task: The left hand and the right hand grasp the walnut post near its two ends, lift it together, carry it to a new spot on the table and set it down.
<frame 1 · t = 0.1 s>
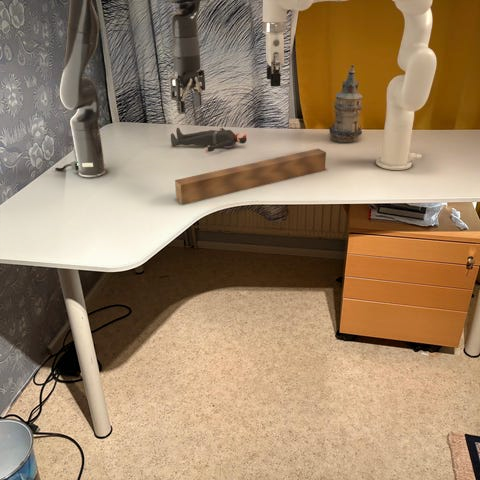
left hand: (189, 109, 158), 29 cm above the table, tool pointing down, fingers open, 8 cm apart
right hand: (273, 82, 178), 31 cm above the table, tool pointing down, fingers open, 9 cm apart
miniature building: (344, 139, 221), on the table
post: (254, 183, 182), on the table
toy: (210, 145, 217), on the table
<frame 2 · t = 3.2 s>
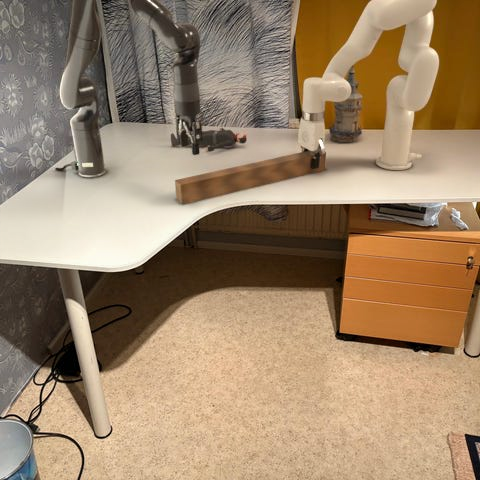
left hand: (190, 150, 165), 16 cm above the table, tool pointing down, fingers open, 8 cm apart
right hand: (310, 165, 191), 2 cm above the table, tool pointing down, fingers closed on post, 4 cm apart
post: (254, 183, 182), on the table, touching right hand
everything else where it was.
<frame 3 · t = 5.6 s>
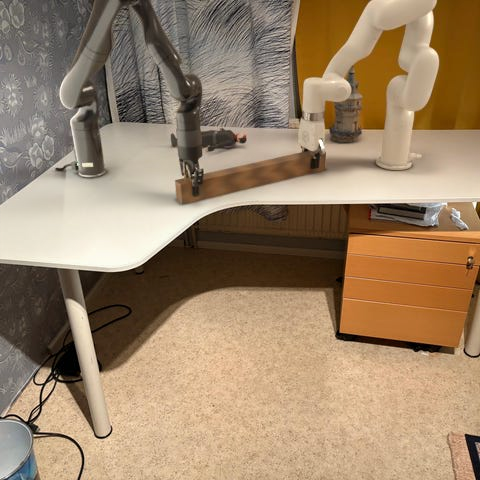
left hand: (192, 192, 172), 2 cm above the table, tool pointing down, fingers closed on post, 4 cm apart
right hand: (310, 165, 191), 2 cm above the table, tool pointing down, fingers closed on post, 4 cm apart
post: (254, 183, 182), on the table, touching right hand, left hand
everything else where it was.
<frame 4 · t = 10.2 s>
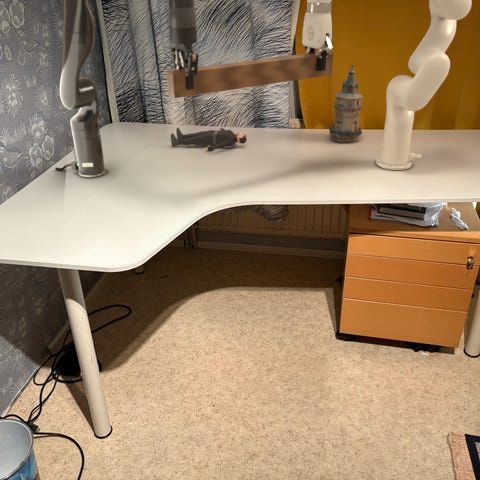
left hand: (186, 87, 155), 36 cm above the table, tool pointing down, fingers closed on post, 4 cm apart
right hand: (315, 68, 175), 36 cm above the table, tool pointing down, fingers closed on post, 4 cm apart
post: (254, 84, 166), point 34 cm above the table, touching right hand, left hand
everything else where it was.
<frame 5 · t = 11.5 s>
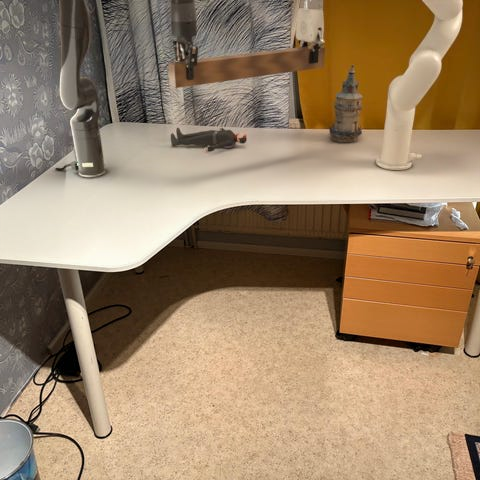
left hand: (186, 77, 165), 36 cm above the table, tool pointing down, fingers closed on post, 4 cm apart
right hand: (309, 61, 185), 36 cm above the table, tool pointing down, fingers closed on post, 4 cm apart
post: (251, 75, 176), point 34 cm above the table, touching right hand, left hand
everything else where it was.
when the left hand's fingers open (4 cm above the table, at t = 17.2 s): post drops 1 cm, on the table.
when the right hand's fingers open (3 cm above the table, at t = 17.2 s): post drops 1 cm, on the table.
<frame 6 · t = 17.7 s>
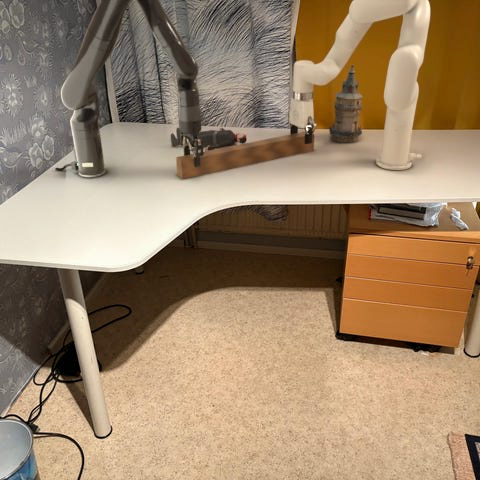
left hand: (192, 162, 188), 4 cm above the table, tool pointing down, fingers open, 8 cm apart
right hand: (300, 139, 208), 4 cm above the table, tool pointing down, fingers open, 9 cm apart
post: (248, 162, 200), on the table
everything else where it was.
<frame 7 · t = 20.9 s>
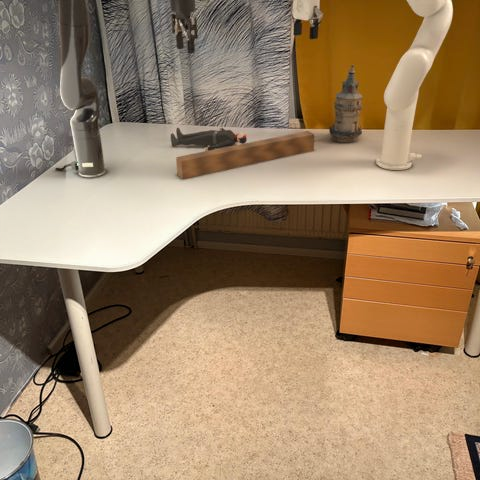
left hand: (185, 50, 170), 42 cm above the table, tool pointing down, fingers open, 8 cm apart
right hand: (305, 36, 189), 42 cm above the table, tool pointing down, fingers open, 9 cm apart
nothing on the table moved.
at the end: post inside the target area (0.2 cm from its centre), on the table; post tilted 0°; post never tilted more than 1° during the clip; both hands held the post at the same time; the left hand is holding nothing; the right hand is holding nothing; post at rest at the end (0.0 cm/s) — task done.
